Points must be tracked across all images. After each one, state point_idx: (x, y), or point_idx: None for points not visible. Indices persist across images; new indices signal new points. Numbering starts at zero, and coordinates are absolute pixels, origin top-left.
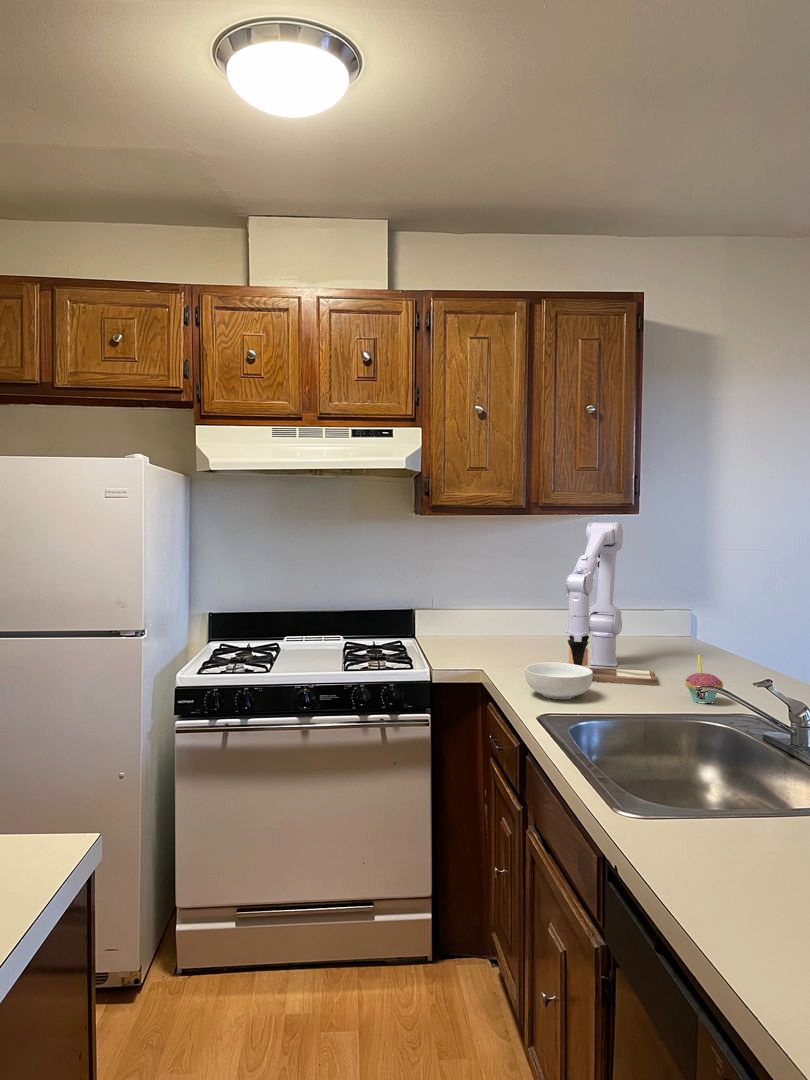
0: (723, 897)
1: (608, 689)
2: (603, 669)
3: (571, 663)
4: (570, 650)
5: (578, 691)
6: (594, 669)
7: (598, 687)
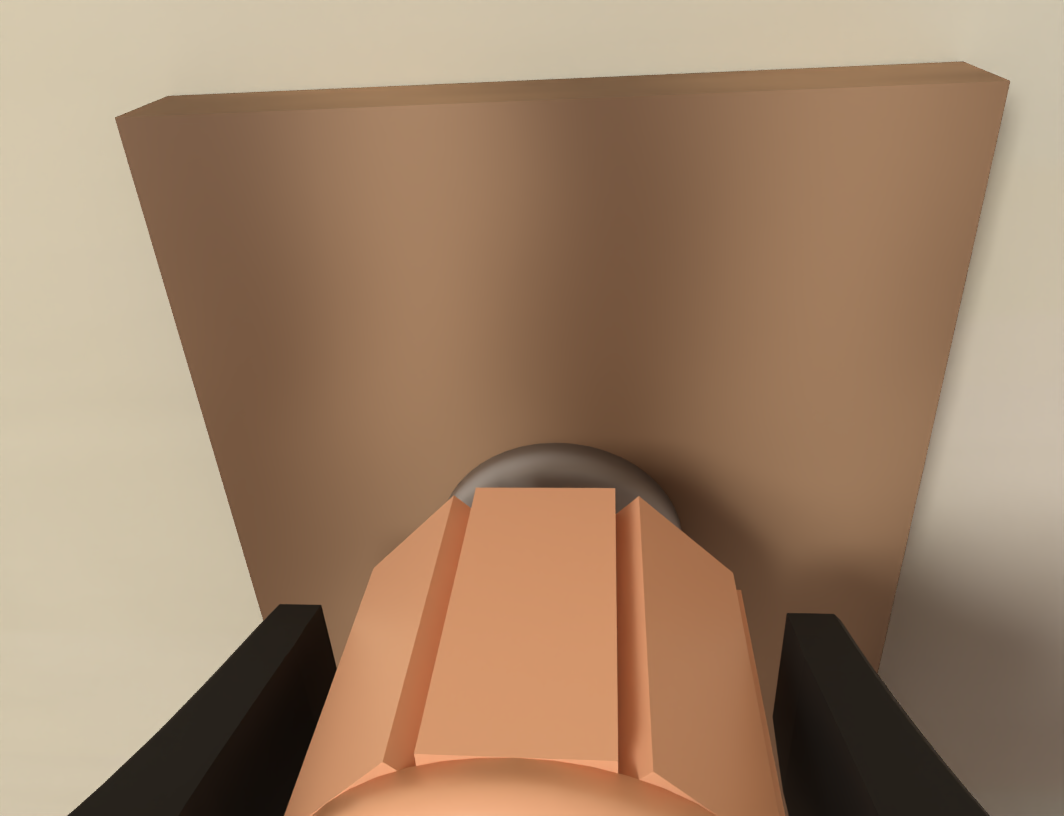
0: None
1: (38, 758)
2: (787, 814)
3: (402, 557)
4: (362, 798)
5: None
6: (768, 729)
7: (62, 687)
